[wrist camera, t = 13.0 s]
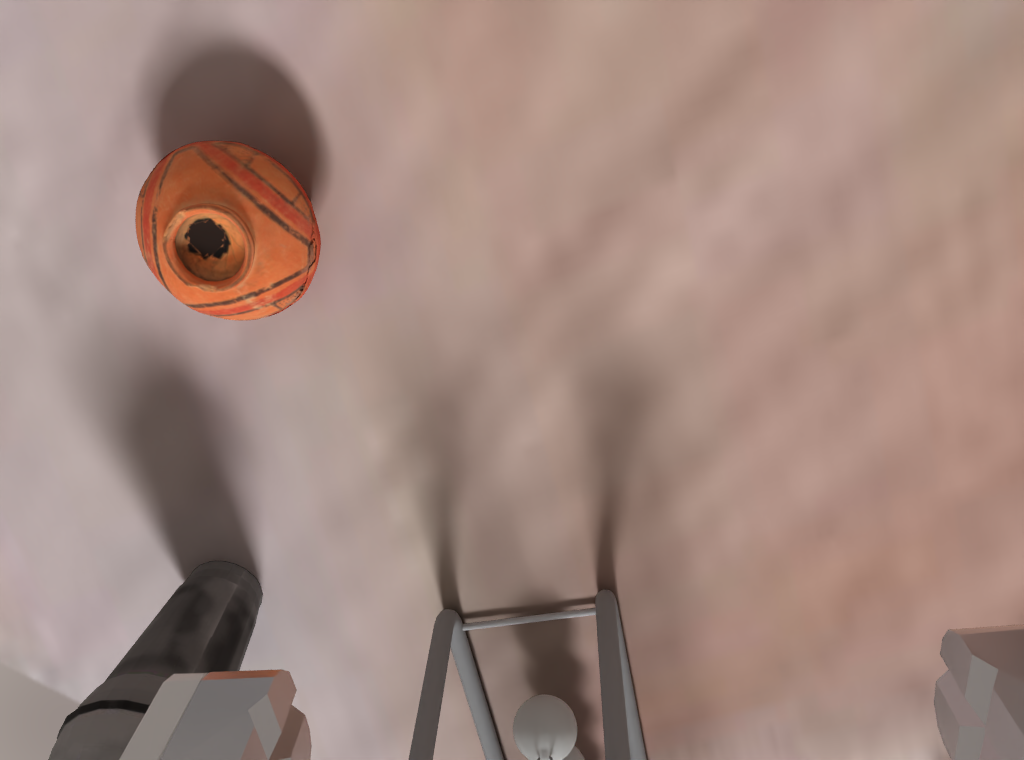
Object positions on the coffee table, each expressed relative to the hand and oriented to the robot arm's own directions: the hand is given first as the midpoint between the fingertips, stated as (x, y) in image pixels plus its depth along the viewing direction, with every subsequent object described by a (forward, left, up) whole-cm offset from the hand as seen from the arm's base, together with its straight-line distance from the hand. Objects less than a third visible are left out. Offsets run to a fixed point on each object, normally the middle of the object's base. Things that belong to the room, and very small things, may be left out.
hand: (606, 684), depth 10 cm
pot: (+15, 0, -29) cm, 33 cm away
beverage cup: (+23, +22, -29) cm, 43 cm away
